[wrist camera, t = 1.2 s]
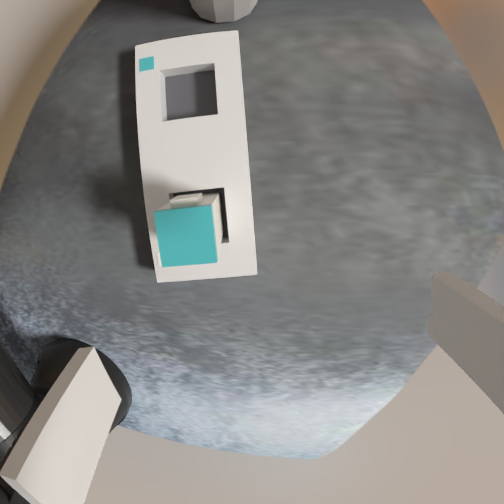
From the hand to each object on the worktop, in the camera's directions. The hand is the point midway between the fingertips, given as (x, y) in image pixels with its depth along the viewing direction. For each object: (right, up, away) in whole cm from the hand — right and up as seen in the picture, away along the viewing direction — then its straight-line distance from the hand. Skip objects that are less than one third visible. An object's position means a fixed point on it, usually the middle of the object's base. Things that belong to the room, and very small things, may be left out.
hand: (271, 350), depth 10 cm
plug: (-6, +7, +20) cm, 22 cm away
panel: (-6, +13, +19) cm, 24 cm away
